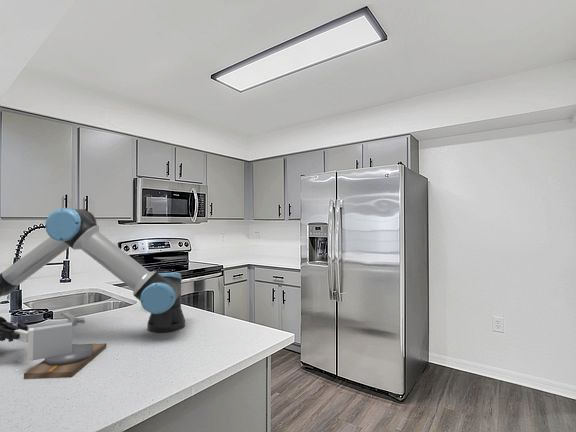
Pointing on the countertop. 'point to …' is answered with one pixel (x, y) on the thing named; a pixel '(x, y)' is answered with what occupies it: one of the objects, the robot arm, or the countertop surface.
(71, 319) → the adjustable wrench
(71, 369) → the dial board
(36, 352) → the grey panel and disc
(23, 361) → the countertop surface
